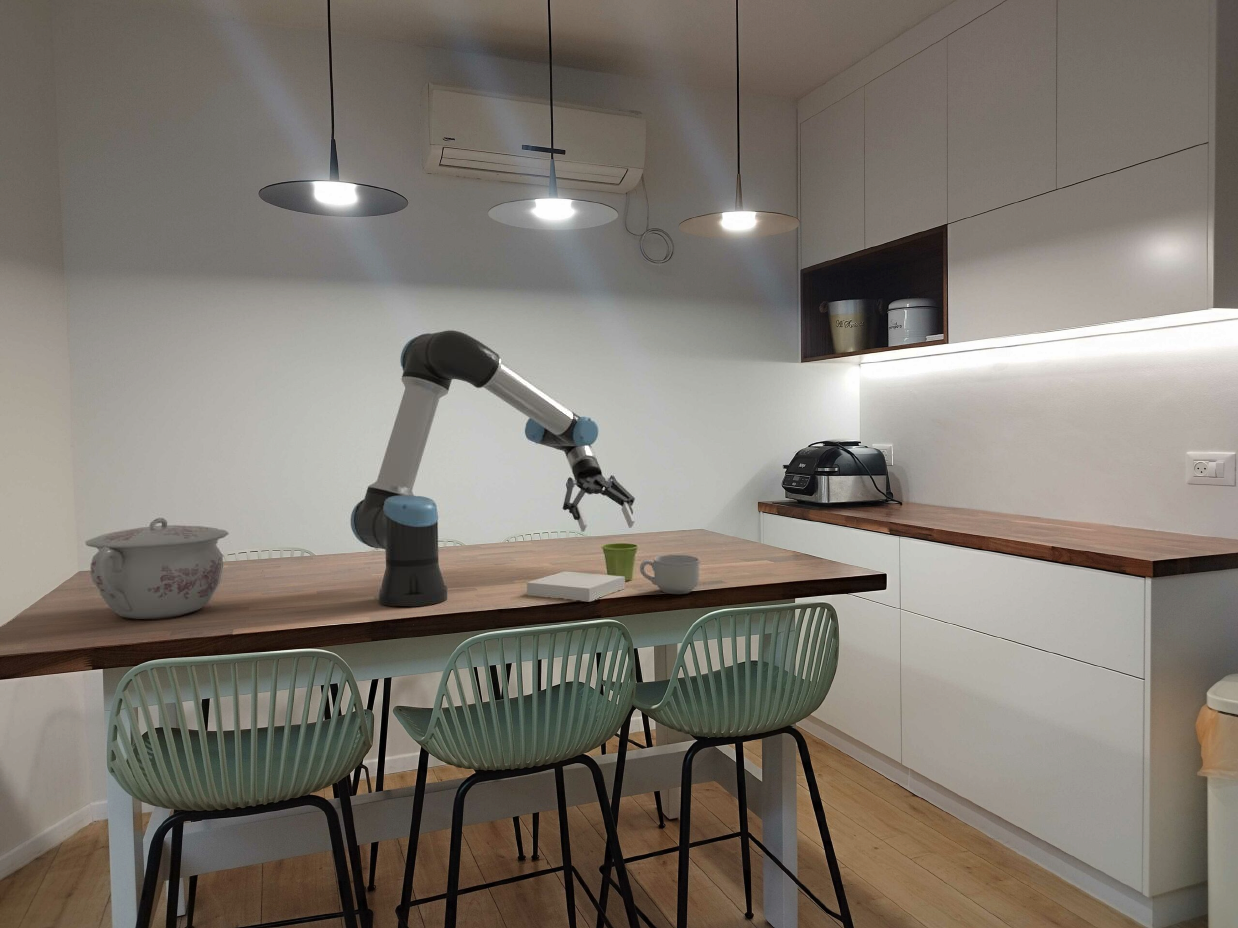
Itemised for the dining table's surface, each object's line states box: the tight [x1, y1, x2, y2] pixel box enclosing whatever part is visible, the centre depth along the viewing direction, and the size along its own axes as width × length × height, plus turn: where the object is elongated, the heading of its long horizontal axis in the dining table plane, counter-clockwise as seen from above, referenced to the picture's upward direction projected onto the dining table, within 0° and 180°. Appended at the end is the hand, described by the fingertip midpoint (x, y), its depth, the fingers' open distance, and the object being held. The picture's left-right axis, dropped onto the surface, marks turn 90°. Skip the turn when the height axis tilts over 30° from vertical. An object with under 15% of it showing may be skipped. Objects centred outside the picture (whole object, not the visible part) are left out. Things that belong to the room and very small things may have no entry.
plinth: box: [526, 570, 626, 603], centre depth 203 cm, size 17×16×3 cm
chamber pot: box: [84, 517, 230, 620], centre depth 187 cm, size 28×28×21 cm
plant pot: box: [601, 542, 640, 582], centre depth 218 cm, size 9×9×9 cm
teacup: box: [639, 553, 701, 595], centre depth 202 cm, size 14×11×8 cm
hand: (608, 526), depth 225 cm, fingers open, 13 cm apart
